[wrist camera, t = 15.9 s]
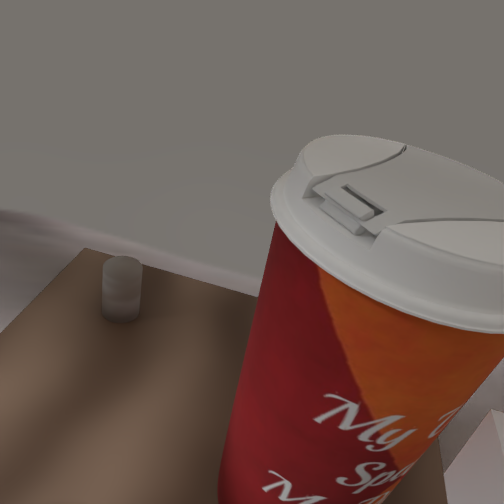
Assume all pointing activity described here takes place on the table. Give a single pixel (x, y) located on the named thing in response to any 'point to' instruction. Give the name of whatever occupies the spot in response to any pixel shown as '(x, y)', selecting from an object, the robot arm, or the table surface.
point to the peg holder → (132, 390)
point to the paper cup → (364, 322)
